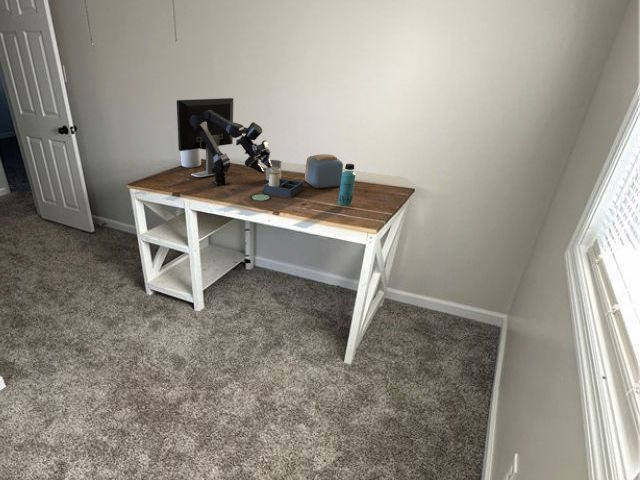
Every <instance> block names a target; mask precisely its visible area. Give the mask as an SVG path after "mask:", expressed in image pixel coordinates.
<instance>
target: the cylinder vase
mask: <svg viewBox="0 0 640 480" xmlns="http://www.w3.org/2000/svg"><path fill="white" fill-rule="evenodd" d="M179 153H180V163H181V164H180V165H181V166H182V167H183V168H189V169H193V168H199V167H200V166H201V165H202V155H201V149H193V150H186V151H179Z"/></svg>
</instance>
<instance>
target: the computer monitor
mask: <svg viewBox="0 0 640 480" xmlns="http://www.w3.org/2000/svg"><path fill="white" fill-rule="evenodd" d="M208 110H212V111H213V112H215V113H216V114H218V115H220V116H222V117H223V118H225V119H227V120H228V121H230V122H234V98H233V97H223V98H222V97H221V98H197V99H196V98H195V99H177V100H176V121H177V145H178V146H177V147H178V151H179V152H180V151H186V150H193V149H200V150H204V151H205V170H204V171H199V172H194V173H191V176H193V177H197V178H203V177H209V176H215V174H213V173H212V169H213V167H214V166H215V164H214V159H213V156H212V154H211V152H210V150H209V149H208V147H207V145H206V144H205V142H204V140H203V138H202V137H201V135H200V133H199V132H197V131H196V130H194V128H193V127H192V126H191V124H190V117H191V116H193V115H197V114H202V113H204V112H205V111H208ZM206 122H207V129H208V131H209V132H210V134H211V136H212V138H213V139H214V141H215V143H216V145H217V146H218V148H219V147H223V146H228V145H233V141H234V138H233V137H232V136H231V135H229V134H228V132H227V131H226V130H225V129H224V128H222V127H220V126H219V125H217V124H215V123H213V122H212V121H210V120H207V121H206Z"/></svg>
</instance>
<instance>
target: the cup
mask: <svg viewBox="0 0 640 480" xmlns="http://www.w3.org/2000/svg"><path fill="white" fill-rule="evenodd" d="M269 160H270V163H271V165H272V167H277V168H280V178H281V179H282V165H283V162H282V161H281V160H279V159H269ZM265 169H266V170H265V172H266V174H265V180H266V181H269V168H268V167H267V166H266V167H265Z"/></svg>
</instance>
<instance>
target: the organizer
mask: <svg viewBox="0 0 640 480" xmlns="http://www.w3.org/2000/svg"><path fill="white" fill-rule="evenodd" d="M303 189H304V182H303V181H300V180H294V179H293V180H292V179H286V178H282V177H281V178H280V186H278V187H274V186H269V182H267V183H265V184H263V194H266V195H274V196H280V197H285V198H290V199H291V198H292V197H294V196H295V195H297V194H298V193H299V192H301V191H303Z"/></svg>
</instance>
